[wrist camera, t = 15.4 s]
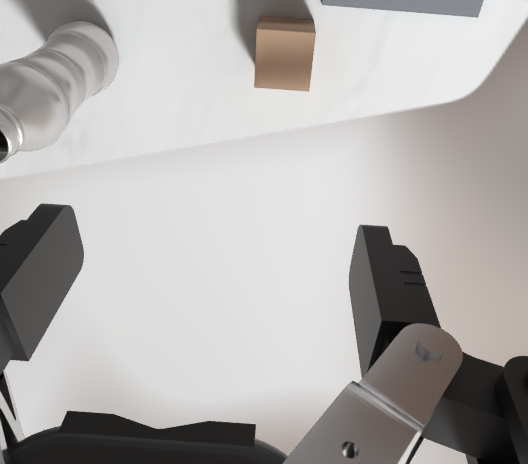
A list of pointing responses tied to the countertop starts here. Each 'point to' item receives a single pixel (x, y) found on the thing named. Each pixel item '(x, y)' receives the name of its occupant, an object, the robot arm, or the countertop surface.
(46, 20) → the countertop surface
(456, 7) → the counting mat
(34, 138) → the plastic bottle
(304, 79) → the walnut block
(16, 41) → the countertop surface
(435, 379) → the robot arm
